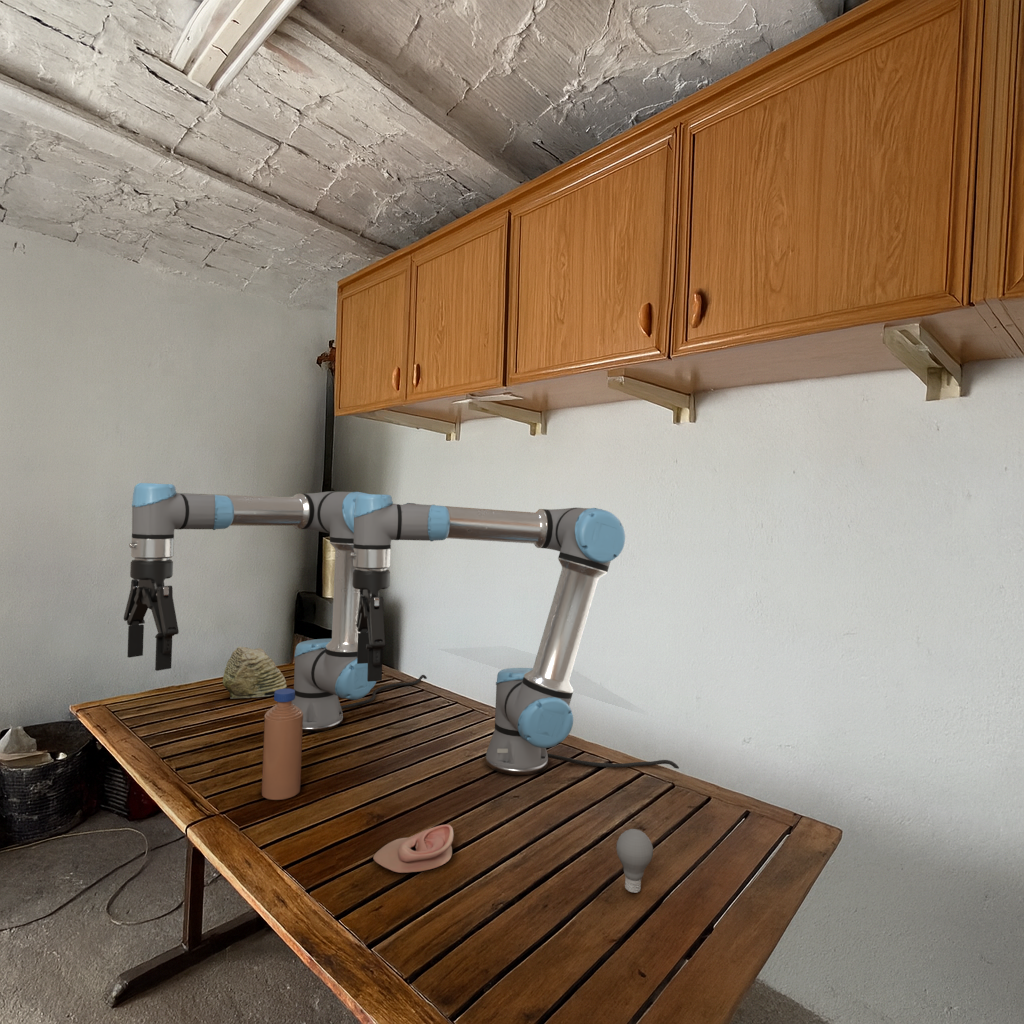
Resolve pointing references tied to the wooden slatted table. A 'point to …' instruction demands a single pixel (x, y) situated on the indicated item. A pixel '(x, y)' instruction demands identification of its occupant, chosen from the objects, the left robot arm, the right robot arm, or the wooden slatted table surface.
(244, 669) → the fossil
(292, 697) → the cap
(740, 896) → the wooden slatted table surface
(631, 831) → the light bulb
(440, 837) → the anatomical model
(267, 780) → the bottle
